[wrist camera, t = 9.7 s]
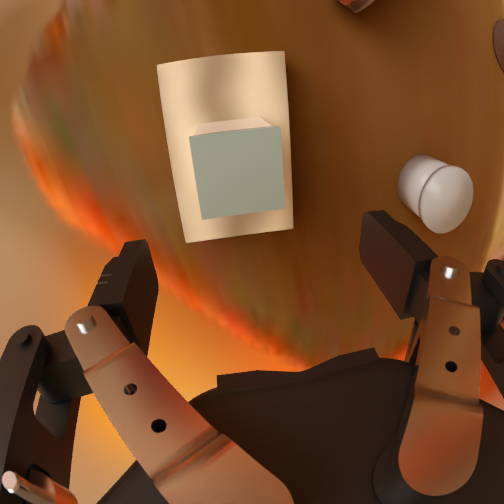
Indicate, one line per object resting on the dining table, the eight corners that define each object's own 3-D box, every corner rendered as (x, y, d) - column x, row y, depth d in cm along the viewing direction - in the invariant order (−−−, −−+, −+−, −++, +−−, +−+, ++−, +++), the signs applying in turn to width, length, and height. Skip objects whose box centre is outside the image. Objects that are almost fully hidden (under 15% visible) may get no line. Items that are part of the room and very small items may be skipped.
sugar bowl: (446, 152, 31) (477, 167, 26) (439, 208, 35) (466, 229, 30) (397, 151, 31) (427, 167, 26) (391, 213, 35) (417, 237, 30)
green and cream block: (262, 114, 24) (280, 126, 18) (266, 176, 26) (285, 208, 20) (194, 122, 23) (188, 137, 17) (203, 184, 26) (202, 220, 20)
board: (274, 55, 24) (284, 51, 21) (284, 211, 33) (293, 228, 29) (163, 67, 24) (156, 65, 20) (188, 223, 32) (185, 242, 29)
